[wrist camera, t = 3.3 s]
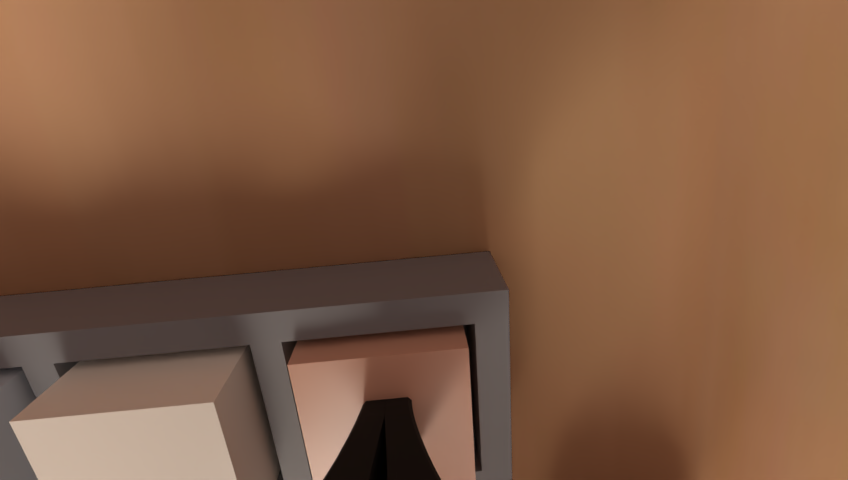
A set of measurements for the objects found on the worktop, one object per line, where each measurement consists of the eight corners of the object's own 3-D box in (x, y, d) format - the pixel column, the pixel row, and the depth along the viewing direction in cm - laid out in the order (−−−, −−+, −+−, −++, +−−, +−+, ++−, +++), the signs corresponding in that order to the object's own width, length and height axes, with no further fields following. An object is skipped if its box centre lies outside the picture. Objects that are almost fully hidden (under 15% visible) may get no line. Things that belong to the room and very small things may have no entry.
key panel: (-20, 475, 18) (-101, 551, 15) (-114, 306, 15) (-235, 359, 12) (494, 425, 18) (512, 490, 15) (489, 251, 15) (508, 289, 12)
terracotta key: (331, 432, 16) (317, 499, 14) (308, 314, 15) (287, 365, 12) (464, 419, 16) (476, 483, 14) (457, 300, 15) (468, 347, 12)
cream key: (136, 478, 15) (79, 562, 12) (86, 355, 13) (9, 421, 11) (281, 464, 15) (256, 544, 13) (251, 339, 13) (213, 402, 11)
